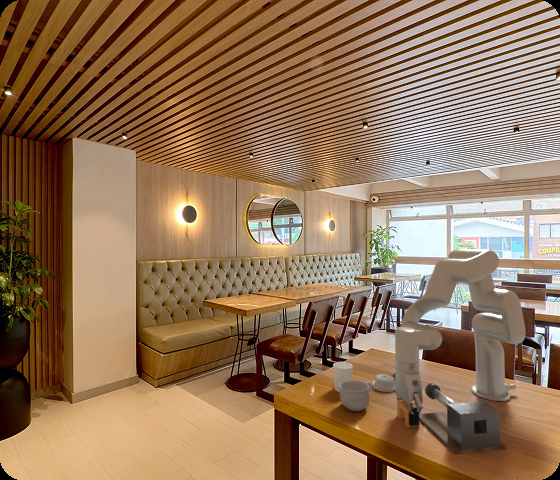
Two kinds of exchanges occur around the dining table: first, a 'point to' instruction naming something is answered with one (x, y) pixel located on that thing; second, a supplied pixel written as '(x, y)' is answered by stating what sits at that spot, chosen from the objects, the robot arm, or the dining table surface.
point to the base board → (439, 429)
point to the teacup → (355, 394)
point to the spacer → (404, 411)
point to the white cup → (342, 373)
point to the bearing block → (473, 425)
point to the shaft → (437, 394)
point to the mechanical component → (384, 383)
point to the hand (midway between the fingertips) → (407, 418)
